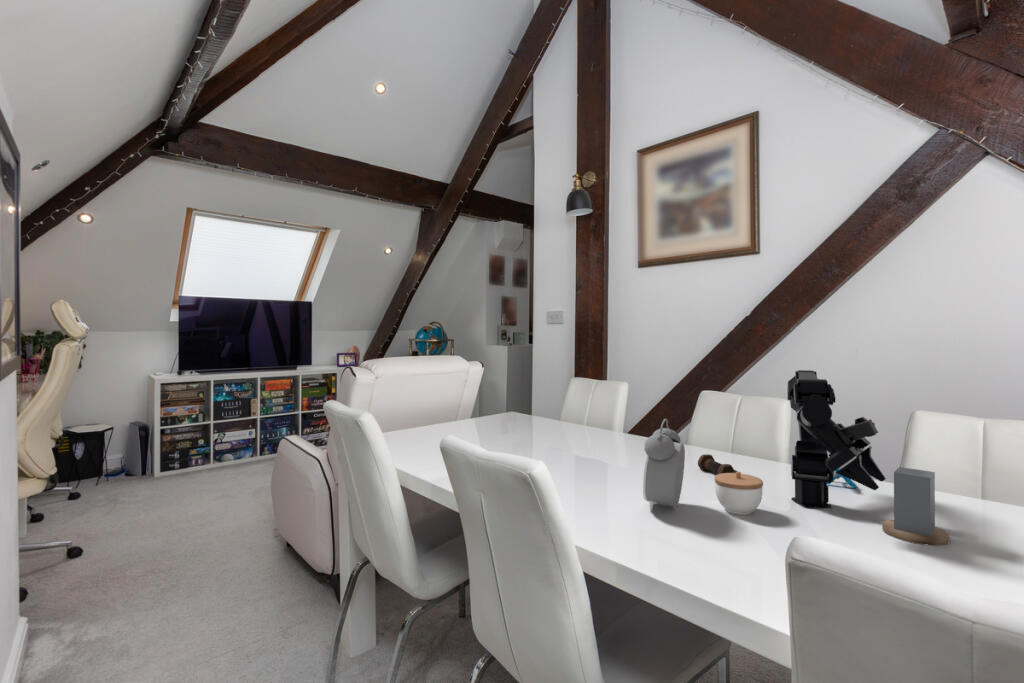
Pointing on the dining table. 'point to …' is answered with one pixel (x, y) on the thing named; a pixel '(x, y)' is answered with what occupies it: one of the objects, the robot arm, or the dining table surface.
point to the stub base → (916, 535)
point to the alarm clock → (663, 467)
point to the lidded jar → (738, 492)
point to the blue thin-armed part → (837, 476)
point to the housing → (914, 501)
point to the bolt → (714, 465)
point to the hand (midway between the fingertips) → (880, 484)
